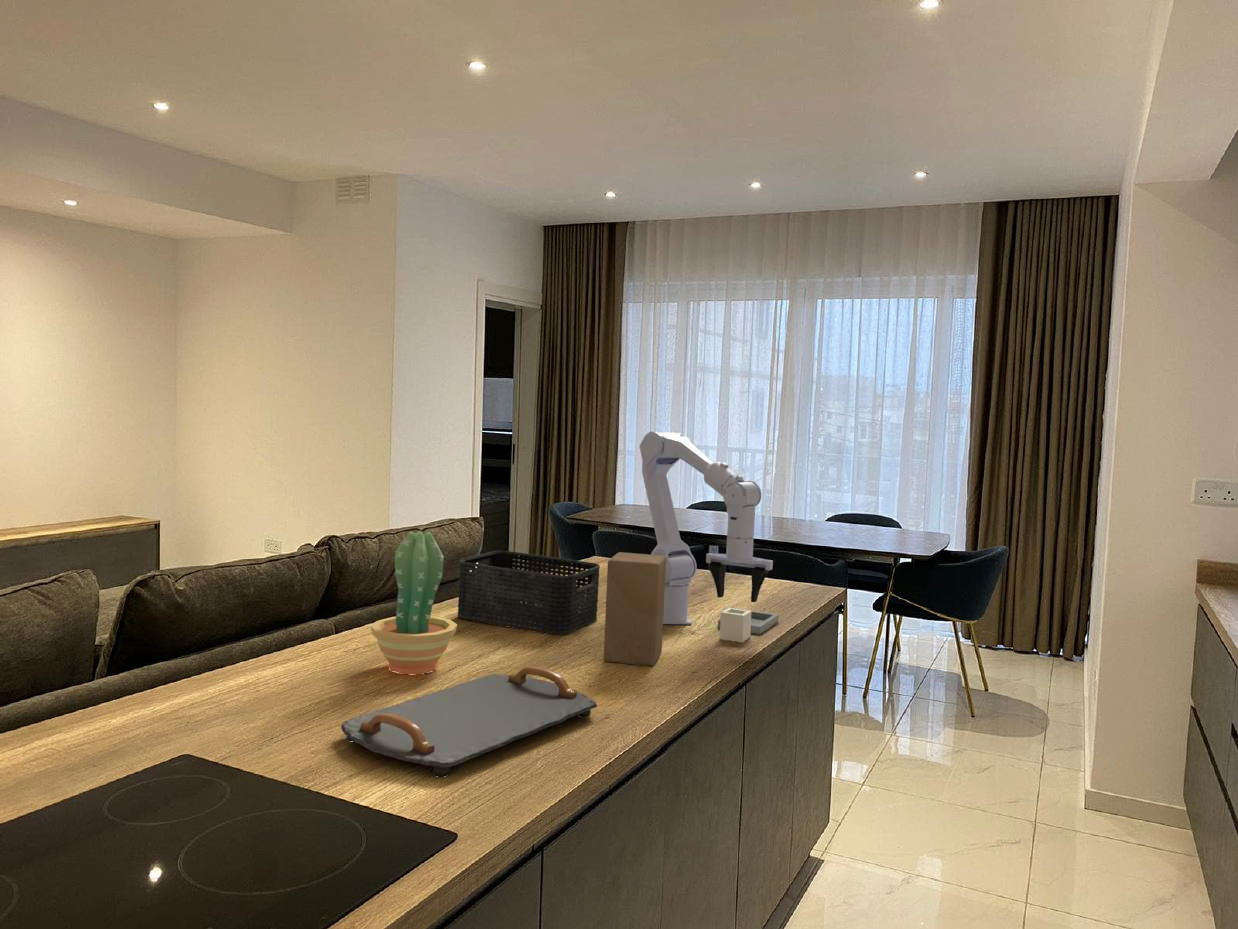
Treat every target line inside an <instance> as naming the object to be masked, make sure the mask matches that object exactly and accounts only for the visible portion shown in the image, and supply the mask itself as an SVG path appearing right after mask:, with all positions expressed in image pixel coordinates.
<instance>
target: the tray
mask: <svg viewBox="0 0 1238 929" xmlns="http://www.w3.org/2000/svg"><path fill="white" fill-rule="evenodd" d="M739 609H740V610H744V608H743V609H742V608H739ZM746 610H747V611H751V630H750V634H752V633H756V634H755V635H759V634H760V635H762V634H763V633H765V632H766V631H768V630H769V629H771V628H770V626H772V627H774V626H775V625H776V624H778V623H779V614H777V613H768V612H762V611H755V610H748V609H746ZM720 619H721V618H720ZM720 619H718V620H717V629H720ZM777 622H778V623H777ZM775 623H776V624H775ZM774 624H775V625H774ZM773 625H774V626H773ZM768 628H769V629H768ZM764 631H765V632H764ZM761 633H762V634H761Z"/></svg>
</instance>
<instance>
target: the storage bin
mask: <svg viewBox="0 0 1238 929" xmlns="http://www.w3.org/2000/svg"><path fill="white" fill-rule="evenodd" d="M485 561H488V562H487V564H481V562H485ZM459 563H460V566H459V582H458V583H459V584H458V590H459V591H458V603H457V607H458V608H457V617H459V618H461V619H465V620H466V619H468V620H467V621H471V620H474V621H473V622H477V621H479V622H478V623H482V624H483V623H484V624H488V623H491V624H490V625H494V624H495V626H499V625H500V626H501V627H505V626H509V627H508V628H510V627H514V628H513V629H516V628H518V629H517V630H522V629H523V631H527V630H530V631H529V632H533V631H535V632H534V633H539V634H544V633H548V634H547V635H568V634H571V633H573V632H576V631H578V630H580V629H582V628H585V627H586V626H588V625H589V626H590V625H591V624H593V623H595V622H596V621H597V620H598V617H597V616H598V603H599V600H598V599H599V585H600V582H599V581H600V579H599V578H600V568H601V566H600V564H599V563H595V562H588V561H582V560H575V559H569V558H567V559H566V558H561V557H552V556H547V555H541V554H540V555H539V554H534V553H533V554H531V553H526V552H525V553H524V552H518V551H509V550H494V551H489V552H486V553H482V554H477V555H473V556H468V557H464V558H460V560H459Z"/></svg>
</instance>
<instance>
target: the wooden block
mask: <svg viewBox="0 0 1238 929" xmlns="http://www.w3.org/2000/svg"><path fill="white" fill-rule="evenodd" d="M606 573H607V575H606V594H605V595H606V596H605V616H604V618H605V620H604V622H605V623H604V638H603V639H604V640H603V642H604V643H603V662H607V663H617V664H625V665H626V664H627V665H635V664H637V665H636V666H645V665H646V667H654V666H655V664H656V663H657V660H658V659H659V657H660V656H661V653H662V651H663V635H664V633H663V632H664V631H663V630H664V624H663V614H664V594H665V573H666V557H665V556H661V555H651V554H647V553H636V552H635V553H633V552H622V551H621V552H620V551H619V552H617V553H616V554H614V555H613V556H612V557H611V558H609V559H608V560H607V572H606Z"/></svg>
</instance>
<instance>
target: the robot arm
mask: <svg viewBox="0 0 1238 929" xmlns="http://www.w3.org/2000/svg"><path fill="white" fill-rule="evenodd" d="M639 450H640V451H639V452H640V454H641V461H642V462H641V463H642V464H641V465H642V466H641V473H642V479H643V482H644V487H645V492H646V496H647V502H648V505H649V506H648V507H649V511H650V515H651V518H652V519H651V520H652V523H653V528H654V532H655V538H656V543H657V544H656V546H655V547H654V548H653V550H652V551H651V553H650V555H661V556H665V557H666V573H665V594H664V614H663V625H692V624H693V622H692V621H691V620H690V619H689V617H688V612H689V610H688V609H689V608H688V606H689V592H690V589H689V588H690V584H691V582H692V578H693V577H694V576H695V574H696V573H697V566H698V565H697V561H696V559H695V557H694V555H693V554H692V552H691V549H690V546H689V545H688V544H687V543H685V542H684V541H683V540H682V539H681V535H680V531H679V529H680V528H679V526H678V521H677V515H676V512H675V507H674V503H673V499H672V494H671V489H670V485H669V481H668V477H667V475H668V473H669V471H670V469H671V468H673V467H674V466H675V465H676V464H677V463H678V462H679V461H680V460H682V461H683V462H684V463H686V464H688V465H689V466H691V467H692V468H693V469H695V470H696V471H698V472H699V473H701V474H702V475H703V480H704V483H705V484H706V485H708V486H709V487H710V488H711V489H713V491H715V492H717V493H718V494H719V495H720V496H722V498H723V502H724V504H725V506H726V514H727V531H726V553H714V552H713V553H712V552H709V553H706V556H705V562H706V564H710V565H709V566H708V570H709V571H710V573H711V576H712V579H713V581H714V585H715V589H716V594H717V595H716V596H717V598H719V599H720V598H723V597H725V596H724V595H725V579H726V571H727V566H733V567H734V566H736V567H744V568H751V570H750V574H751V591H750V592H751V594H750V602H751V603H756V602H757V601H758V597H759V593H760V591H761V589H762V586H763V583H764V580H766V577H767V575H768V574H769V571H771V570H773V565H774V564H773V563H774V561H773V560H771V559H765V558H760V557H754V556H753V555H754V536H755V518H756V517H755V516H756V507H757V506H758V505H759V504H760V502H761V500H762V490H761V488H760V486H759V485H758V484H757V482H755V481H754V480H745V479H744V477H743V475H741V474H738V473H736V472H734V471H733V470H732V469H730V468H729V466H730V465H729V464H728V462H727V463H726V462H721V461H716V462H714V461H712V460H711V459H710V458H708V456H706V454H704V453H703V452H702V451H701V450H699V449H698V448H697V447H696V446H695V445H694V444H693V443H692V442H691V440H690V438H689V437H687V436H685V435H684V434H683V433H682V432H679V431H674V432H668V431H667V432H665V431H664V432H660V431H659V432H657V431H649V432H648V433H646V434H645V435H644V436H643V438H642V440H641V442H640V443H639Z"/></svg>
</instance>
